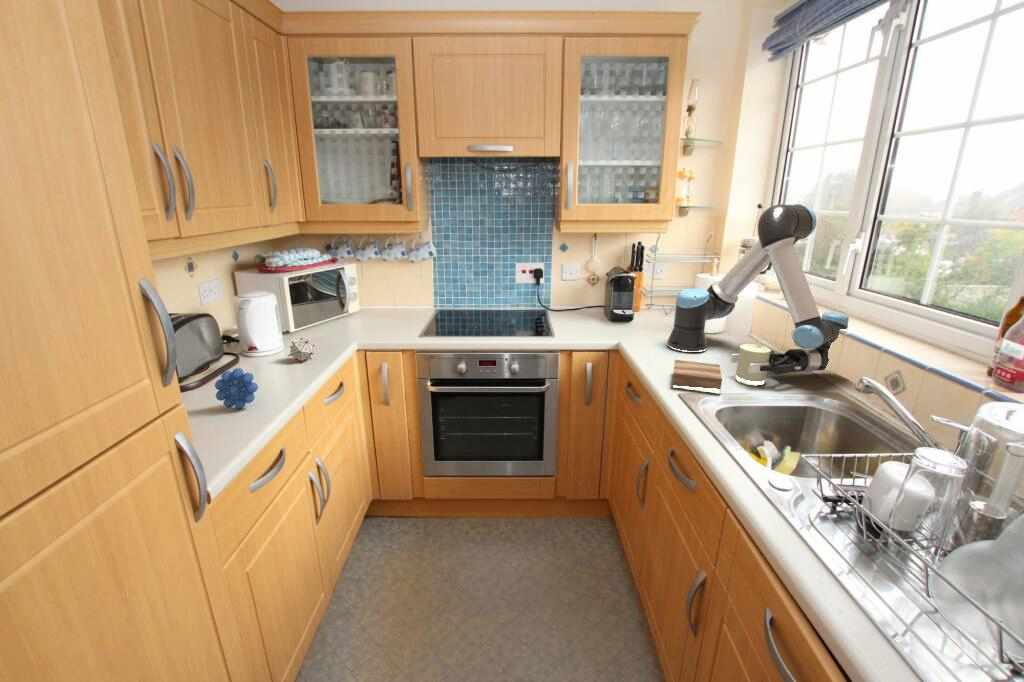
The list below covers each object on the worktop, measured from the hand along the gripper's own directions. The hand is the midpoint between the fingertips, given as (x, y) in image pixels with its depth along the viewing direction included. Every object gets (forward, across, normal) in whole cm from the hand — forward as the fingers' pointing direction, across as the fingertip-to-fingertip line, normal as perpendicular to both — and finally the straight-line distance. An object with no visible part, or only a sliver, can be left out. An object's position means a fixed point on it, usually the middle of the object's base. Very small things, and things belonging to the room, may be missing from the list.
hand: (740, 363), depth 153 cm
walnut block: (+15, +1, -6) cm, 16 cm away
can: (-5, 0, -7) cm, 8 cm away
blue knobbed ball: (+152, +3, -7) cm, 152 cm away
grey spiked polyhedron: (+145, +41, -7) cm, 151 cm away
